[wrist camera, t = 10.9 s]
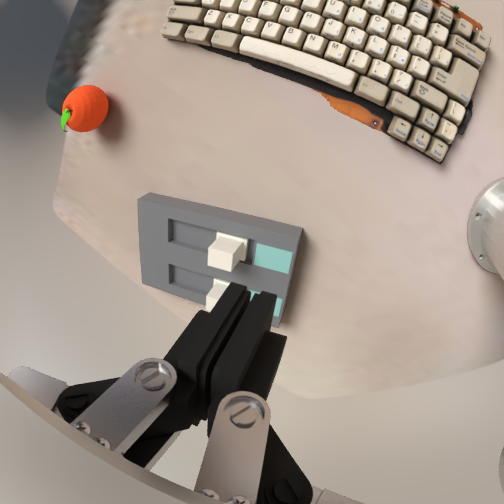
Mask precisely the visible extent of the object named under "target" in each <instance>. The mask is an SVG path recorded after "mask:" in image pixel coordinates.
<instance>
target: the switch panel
mask: <svg viewBox="0 0 504 504" xmlns="http://www.w3.org/2000/svg"><path fill="white" fill-rule="evenodd" d="M138 227H139V246H140V260H141V273H142V283H143V284H146V285H148V286H151V287H154V288H157V289H159V290H162V291H165V292H168V293H171V294H174V295H177V296H179V297H182V298H185V299H188V300H191V301H194V302H197V303H200V304H203V305H206V296H207V294H208V293H209V292H210V290H211V289H212V288H213V283H214V278H218V279H221V280H224V281H228V282H235V283H238V284H242V285H245V286H247V290H248V291H251V299H252V297H253V296H254V294H255V293H258V294H260V293H261V291H266V292H269V293H273V294H276V295H277V300H276V305H275V310H274V314H273V319H272V323H271V326H274V327H279V325H280V322H281V319H282V317H283V314H284V309H285V305H286V301H287V297H288V293H289V288H290V284H291V280H292V275H293V271H294V267H295V262H296V258H297V253H298V249H299V244H300V239H301V235H302V230H303V228H301V227H297V226H293V225H289V224H285V223H281V222H277V221H273V220H269V219H264V218H260V217H256V216H252V215H248V214H243V213H239V212H235V211H231V210H226V209H222V208H218V207H213V206H209V205H204V204H200V203H195V202H191V201H186V200H182V199H177V198H172V197H168V196H163V195H158V194H154V193H148V194H146V195H145V196H143V197H141V198H139V199H138ZM217 231H221V232H225V233H229V234H233V235H237V236H241V237H244V238H248V239H249V243H248V251H247V258H246V260H245V261H242V260H239V262H238V263H237V264H236V266H235V267H234V269H233V270H232V271H231V272H229V271H226V270H222V269H219V268H215V267H212V266H208V265H207V264H208V248H209V247H210V245H211V244H212V243H213V242H214V241H215V240H216V235H217ZM251 299H250V301H251Z"/></svg>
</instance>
